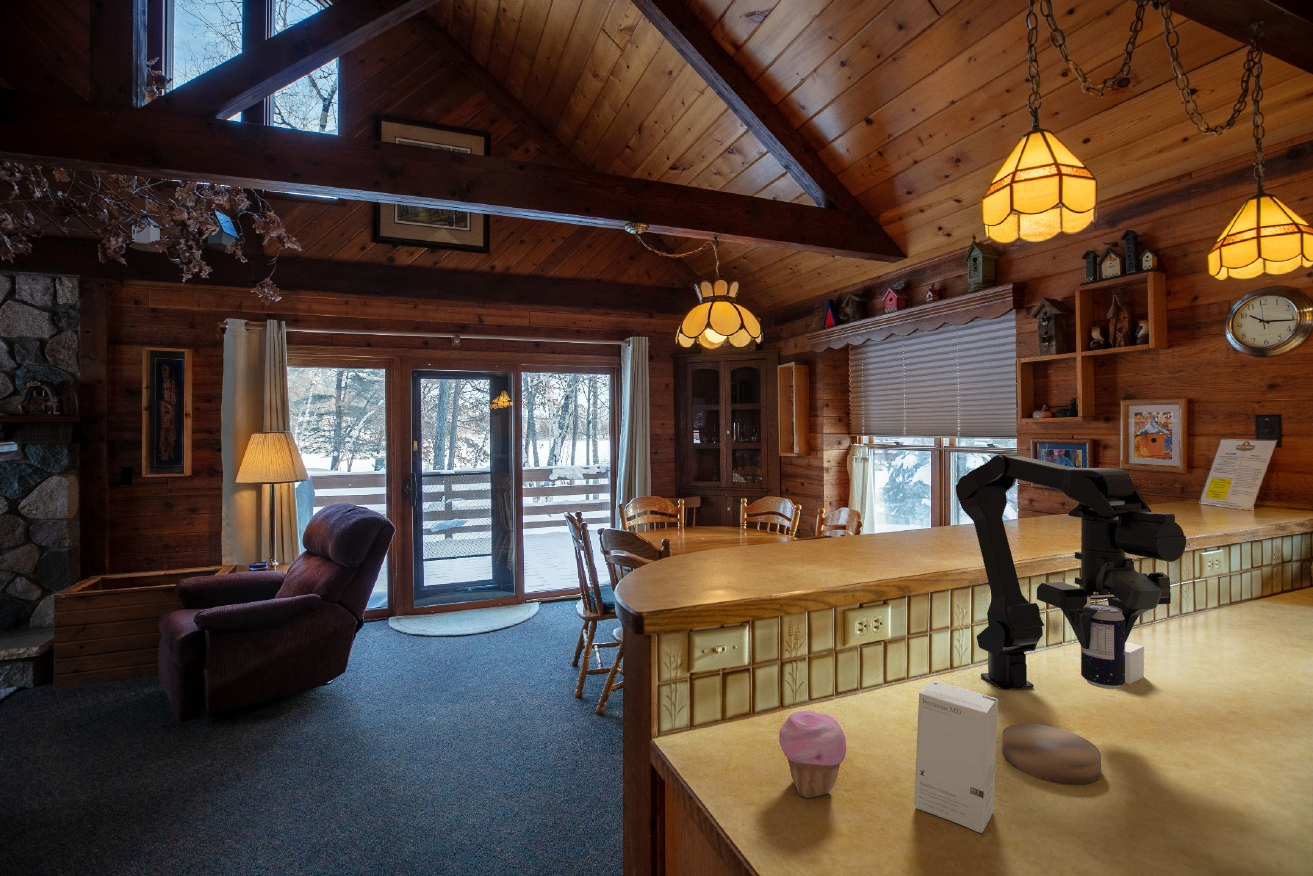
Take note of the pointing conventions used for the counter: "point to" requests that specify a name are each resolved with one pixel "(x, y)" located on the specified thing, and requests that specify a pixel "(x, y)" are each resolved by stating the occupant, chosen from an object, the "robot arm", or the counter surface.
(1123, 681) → the beverage can
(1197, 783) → the counter surface
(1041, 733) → the walnut base
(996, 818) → the counter surface
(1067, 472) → the robot arm
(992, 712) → the skincare box
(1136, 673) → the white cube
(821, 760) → the cupcake
